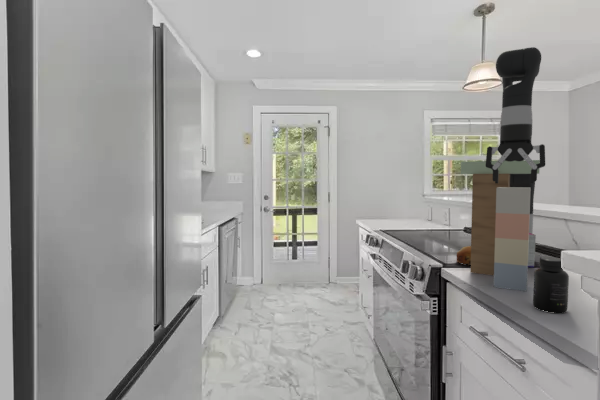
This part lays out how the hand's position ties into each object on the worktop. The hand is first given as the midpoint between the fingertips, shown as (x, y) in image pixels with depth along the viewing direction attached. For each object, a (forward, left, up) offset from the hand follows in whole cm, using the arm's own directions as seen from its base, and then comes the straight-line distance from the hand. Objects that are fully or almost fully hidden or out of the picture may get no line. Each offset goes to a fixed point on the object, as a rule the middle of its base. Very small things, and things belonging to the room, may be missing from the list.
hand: (513, 183), depth 105 cm
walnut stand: (-16, -7, -29) cm, 34 cm away
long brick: (-16, -5, +3) cm, 17 cm away
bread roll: (-27, -14, -30) cm, 42 cm away
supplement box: (-32, +2, -29) cm, 43 cm away
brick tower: (-2, 0, -29) cm, 29 cm away
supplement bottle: (+15, +9, -29) cm, 34 cm away
